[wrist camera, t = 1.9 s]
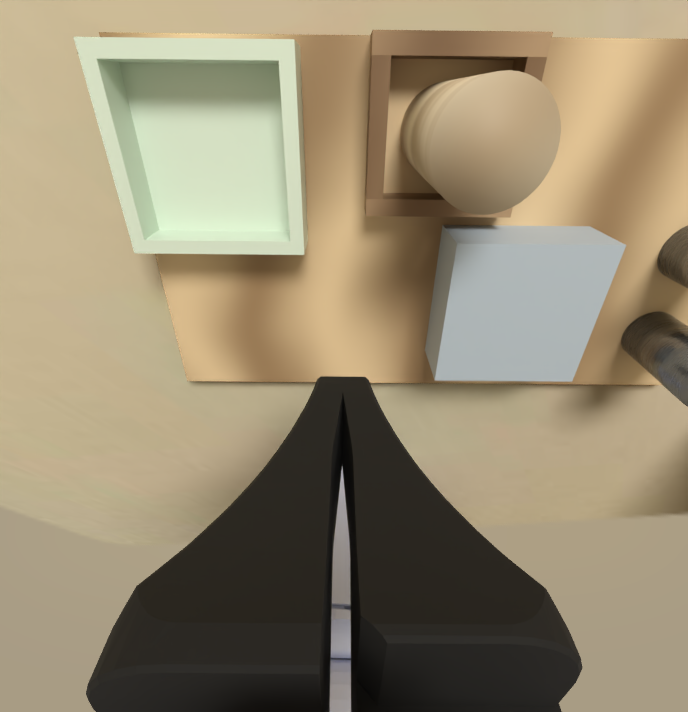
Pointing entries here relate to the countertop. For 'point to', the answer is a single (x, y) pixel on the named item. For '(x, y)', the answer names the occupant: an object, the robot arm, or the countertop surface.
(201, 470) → the countertop surface
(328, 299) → the bench board
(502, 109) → the beech dowel
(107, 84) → the sage tray
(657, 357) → the bench dogs
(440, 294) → the slate block
